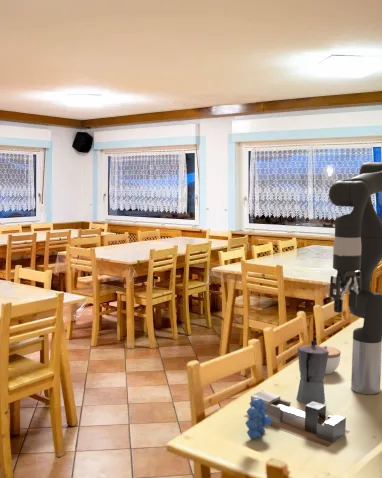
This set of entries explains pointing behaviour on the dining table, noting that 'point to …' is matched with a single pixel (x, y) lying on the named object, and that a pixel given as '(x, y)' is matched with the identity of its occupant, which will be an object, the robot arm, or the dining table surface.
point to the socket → (332, 428)
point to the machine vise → (275, 416)
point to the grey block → (304, 416)
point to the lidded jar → (332, 359)
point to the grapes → (257, 418)
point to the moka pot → (312, 373)
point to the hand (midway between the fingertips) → (345, 309)
